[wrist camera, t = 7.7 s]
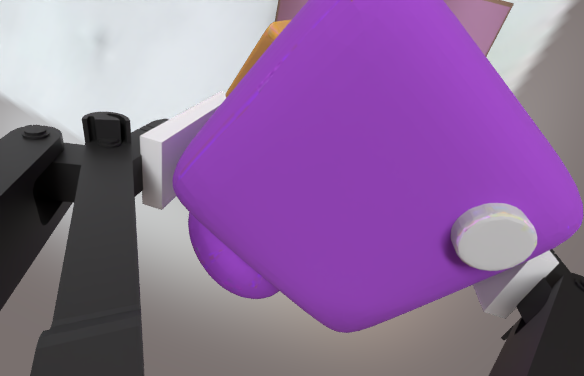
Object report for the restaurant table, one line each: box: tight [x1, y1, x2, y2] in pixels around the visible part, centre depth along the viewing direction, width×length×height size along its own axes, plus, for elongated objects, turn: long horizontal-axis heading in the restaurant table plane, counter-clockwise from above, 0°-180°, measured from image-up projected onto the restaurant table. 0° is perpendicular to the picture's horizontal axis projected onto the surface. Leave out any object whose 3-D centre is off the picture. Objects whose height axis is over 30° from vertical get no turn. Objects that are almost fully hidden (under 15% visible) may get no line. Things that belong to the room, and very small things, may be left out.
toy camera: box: [172, 0, 583, 333], centre depth 13 cm, size 11×14×10 cm
